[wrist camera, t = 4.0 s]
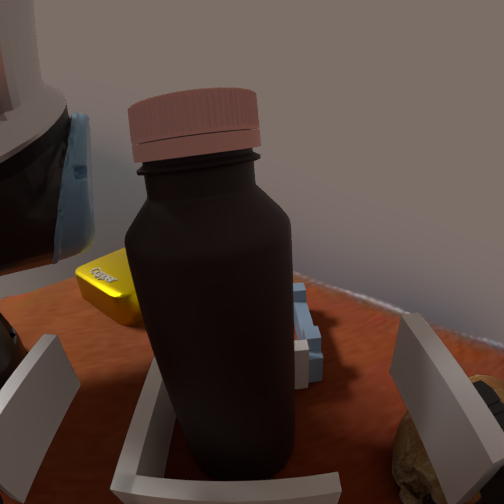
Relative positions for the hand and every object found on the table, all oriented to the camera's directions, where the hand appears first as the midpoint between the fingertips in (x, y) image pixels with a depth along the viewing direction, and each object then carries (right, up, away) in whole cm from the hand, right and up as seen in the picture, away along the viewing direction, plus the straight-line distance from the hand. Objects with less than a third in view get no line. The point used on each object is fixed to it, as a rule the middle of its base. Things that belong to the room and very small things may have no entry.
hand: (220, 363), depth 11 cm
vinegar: (+1, -9, +8) cm, 12 cm away
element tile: (-14, -1, +31) cm, 34 cm away
